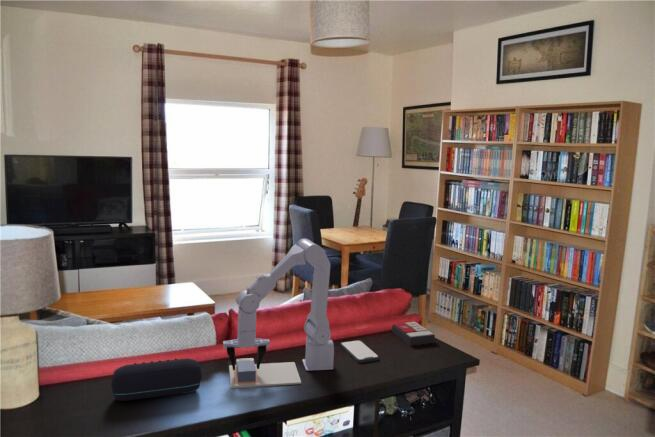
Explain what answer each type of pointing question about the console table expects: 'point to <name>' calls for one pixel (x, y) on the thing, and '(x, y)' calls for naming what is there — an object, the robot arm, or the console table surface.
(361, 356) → the phone case
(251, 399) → the console table surface
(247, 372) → the card deck
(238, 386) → the mat
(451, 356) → the console table surface
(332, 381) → the console table surface
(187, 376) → the portable speaker
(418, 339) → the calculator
